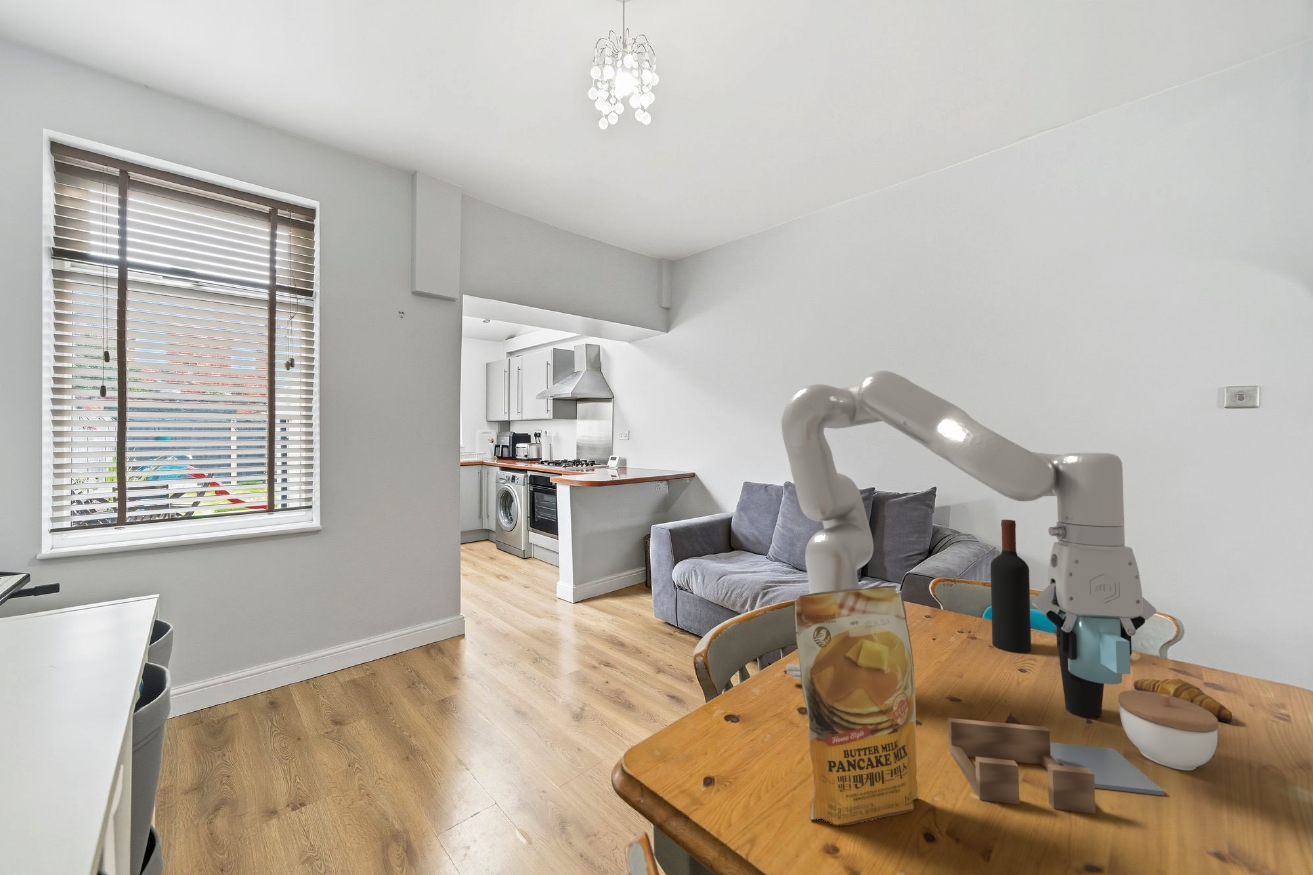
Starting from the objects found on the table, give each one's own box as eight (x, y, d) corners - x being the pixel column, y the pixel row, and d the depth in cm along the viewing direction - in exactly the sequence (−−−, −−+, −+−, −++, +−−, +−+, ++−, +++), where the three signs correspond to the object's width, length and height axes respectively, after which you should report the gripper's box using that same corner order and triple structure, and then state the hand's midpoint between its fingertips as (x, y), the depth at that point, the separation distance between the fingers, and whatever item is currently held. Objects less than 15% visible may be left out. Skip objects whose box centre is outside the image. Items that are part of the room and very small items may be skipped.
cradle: (980, 799, 68) (979, 761, 68) (948, 750, 79) (948, 717, 79) (1095, 813, 65) (1094, 774, 65) (1046, 760, 76) (1045, 726, 76)
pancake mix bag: (783, 799, 68) (780, 589, 69) (903, 776, 73) (899, 580, 73) (809, 836, 61) (806, 604, 62) (940, 808, 66) (936, 593, 67)
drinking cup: (1123, 725, 86) (1119, 606, 86) (1071, 720, 87) (1068, 604, 88) (1094, 703, 93) (1091, 594, 94) (1047, 699, 95) (1044, 592, 95)
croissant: (1243, 721, 87) (1242, 692, 87) (1221, 729, 85) (1220, 698, 85) (1145, 687, 100) (1144, 661, 100) (1124, 693, 98) (1123, 666, 98)
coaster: (1079, 786, 70) (1079, 781, 70) (1040, 745, 80) (1040, 741, 80) (1164, 795, 68) (1164, 791, 68) (1113, 752, 78) (1113, 748, 78)
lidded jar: (1117, 730, 84) (1115, 673, 85) (1211, 754, 78) (1209, 692, 78) (1122, 761, 76) (1120, 698, 76) (1228, 791, 69) (1225, 721, 69)
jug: (1098, 692, 69) (1096, 611, 69) (1059, 664, 78) (1057, 593, 78) (1150, 696, 68) (1147, 614, 68) (1104, 667, 77) (1102, 595, 77)
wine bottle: (984, 643, 123) (981, 519, 124) (1007, 639, 125) (1005, 517, 126) (1015, 655, 116) (1011, 523, 116) (1039, 650, 118) (1035, 521, 119)
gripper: (1038, 538, 73) (1041, 663, 73) (1179, 542, 70) (1183, 674, 69) (1013, 530, 81) (1015, 644, 80) (1139, 533, 77) (1143, 652, 77)
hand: (1093, 656), depth 75 cm, fingers closed on jug, 6 cm apart
